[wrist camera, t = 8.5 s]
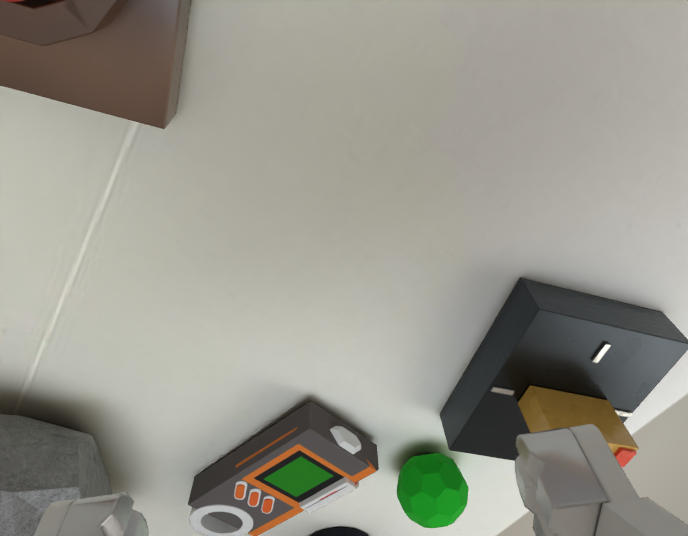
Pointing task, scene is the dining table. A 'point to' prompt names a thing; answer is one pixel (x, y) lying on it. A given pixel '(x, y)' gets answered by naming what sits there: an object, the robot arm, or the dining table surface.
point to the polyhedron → (432, 490)
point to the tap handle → (577, 417)
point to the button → (12, 0)
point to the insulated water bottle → (340, 532)
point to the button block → (97, 54)
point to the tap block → (557, 362)
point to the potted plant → (44, 471)
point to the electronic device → (281, 474)
